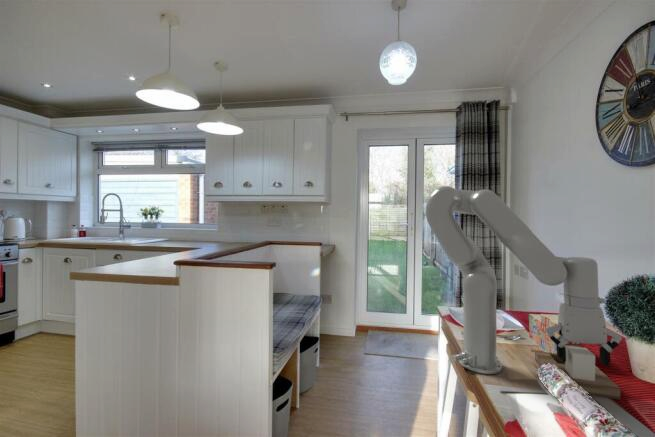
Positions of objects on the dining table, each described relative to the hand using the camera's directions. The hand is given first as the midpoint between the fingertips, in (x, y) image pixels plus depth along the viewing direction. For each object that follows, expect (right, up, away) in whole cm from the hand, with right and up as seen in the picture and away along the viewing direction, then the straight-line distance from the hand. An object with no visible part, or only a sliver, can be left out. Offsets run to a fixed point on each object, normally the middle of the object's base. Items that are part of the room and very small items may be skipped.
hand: (582, 361), depth 84 cm
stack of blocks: (+9, -7, +24) cm, 26 cm away
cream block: (-1, -4, 0) cm, 4 cm away
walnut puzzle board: (+1, -7, +5) cm, 8 cm away
